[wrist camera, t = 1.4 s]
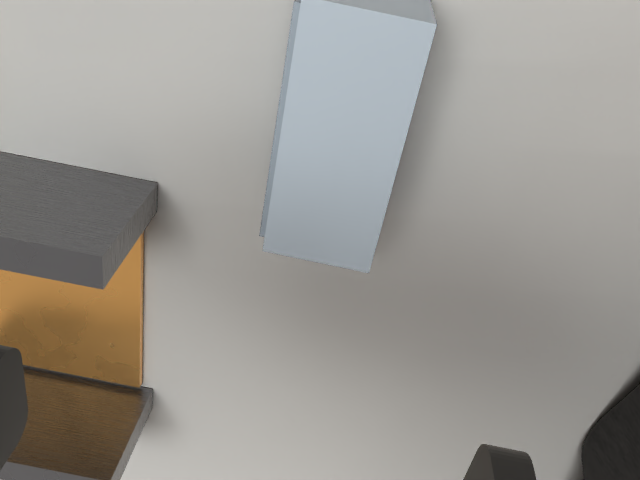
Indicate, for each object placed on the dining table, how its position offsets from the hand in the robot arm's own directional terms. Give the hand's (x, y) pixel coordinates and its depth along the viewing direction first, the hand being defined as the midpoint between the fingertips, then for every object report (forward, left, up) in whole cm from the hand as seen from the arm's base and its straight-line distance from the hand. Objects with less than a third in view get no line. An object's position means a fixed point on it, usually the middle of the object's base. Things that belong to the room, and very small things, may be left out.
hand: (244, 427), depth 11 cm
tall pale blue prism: (-1, +1, -16) cm, 16 cm away
